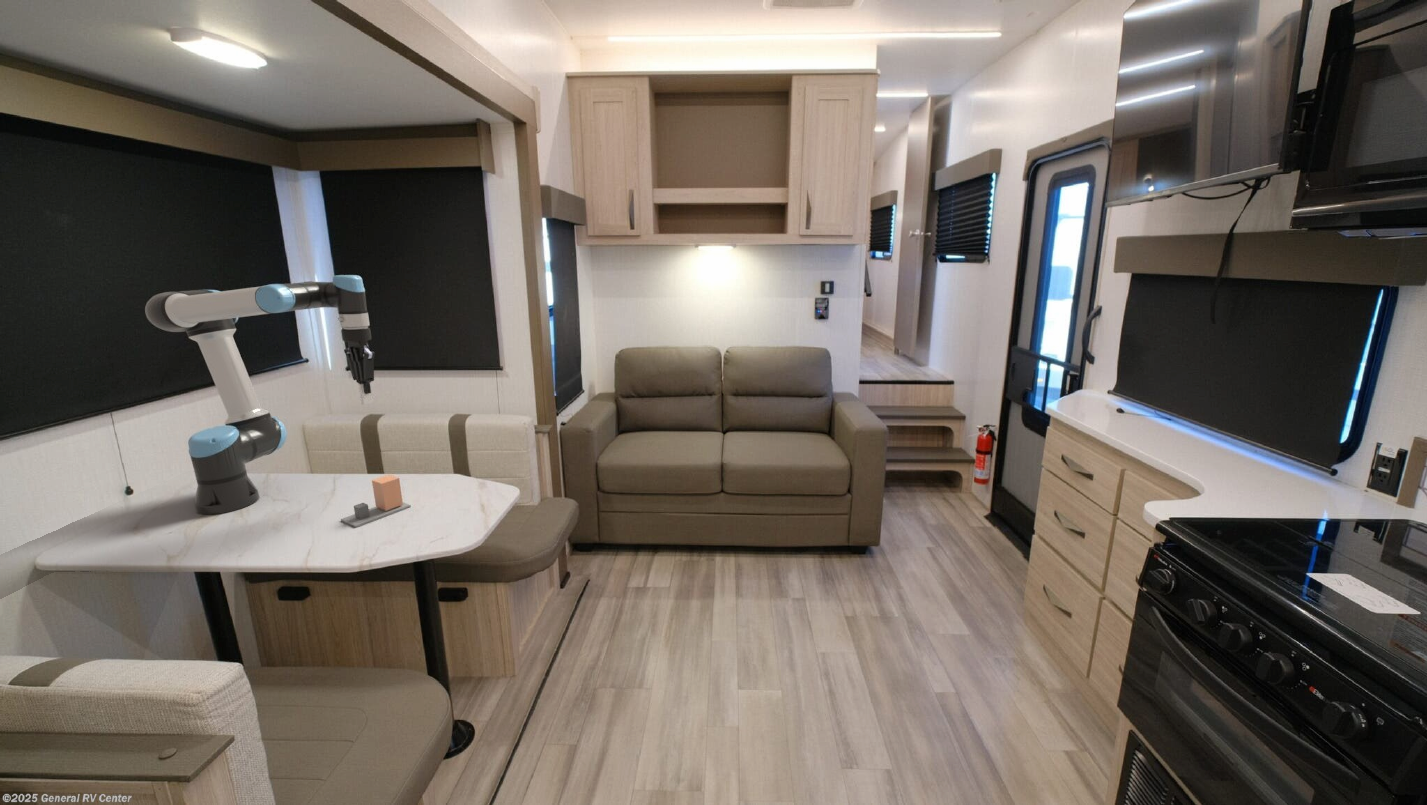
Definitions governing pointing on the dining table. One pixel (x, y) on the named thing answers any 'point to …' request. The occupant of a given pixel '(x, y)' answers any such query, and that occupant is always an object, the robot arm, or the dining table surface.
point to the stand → (370, 514)
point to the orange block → (387, 492)
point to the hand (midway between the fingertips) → (367, 403)
